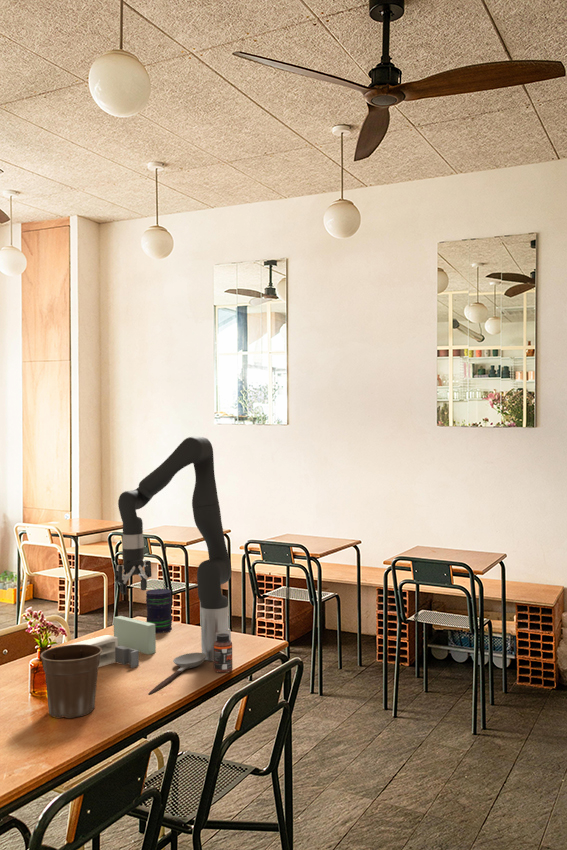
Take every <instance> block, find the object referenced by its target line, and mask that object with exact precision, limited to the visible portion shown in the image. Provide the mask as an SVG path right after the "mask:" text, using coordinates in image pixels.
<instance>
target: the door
mask: <svg viewBox="0 0 567 850" xmlns="http://www.w3.org/2000/svg"><path fill="white" fill-rule="evenodd" d="M113 636H114V637H117V638H118V646H124V647H128V648H131V649H135V650H138V651H139V653H141V654H145V655H147V656H148V655H153V654H155V653H157V647H156V646H157V645H156V643H157V641H156V638H157V637H156V633H155V624H153V623H148V622H146V621H145V620H139V619H137V618H131V617H128V616H127V617H126V616H123V615H119V616H114V617H113Z"/></svg>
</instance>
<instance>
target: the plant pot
mask: <svg viewBox="0 0 567 850" xmlns="http://www.w3.org/2000/svg"><path fill="white" fill-rule="evenodd" d="M101 653H102V649H101V648H100V647H98V646H94V645H86V644H77V645H69V644H66V646H65V645H60V646H57V647H56V646H54V647H52V648H48V649H47V650H44V651H42V652H41V653H40V659H41V660H42V668H43V669H42V670H43V671H44V676H45V687H46V697H47V707H48V709H47V711H48V715H50V716H51V717H53V718H57V719H62V718H63V717H64V718H66V719H72V718H81V717H83V716H86V715H88V714H91V713H92V712H93V710H94V709H95V707H96V706H95V705H96V704H95V703H96V695H97V694H96V693H97V682H98V681H97V679H98V669H99V667H98V666H99V661H100V654H101Z"/></svg>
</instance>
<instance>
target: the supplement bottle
mask: <svg viewBox="0 0 567 850" xmlns="http://www.w3.org/2000/svg"><path fill="white" fill-rule="evenodd" d="M216 639H217V641H215V642H214V661H213V670H214V672H216V673H221V674H223V673H225V674H226V673H229V672H231V671H232V670H233V642H232V640H231V641H230V640H229V634H226V633H221V634H217V638H216Z"/></svg>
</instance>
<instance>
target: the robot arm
mask: <svg viewBox="0 0 567 850" xmlns="http://www.w3.org/2000/svg"><path fill="white" fill-rule="evenodd" d="M213 448H214V447H213V445H212V443H211V441H210V440H209V439H208V438H207V437H204V436H189V437H186V438H185V439H183V440H182V441H181V443H180V444H179V445H178V446H177V447H176V448H175V449H174V451H172V453H171V454H170V455H169V456H168V457H167V458H166V459H165V460H164V461H163V462H162V463H161V464H160V465H158V467H156V468H155V469H154V470H153V471H151V472H150V473H149V474H147V475H146V476H145V477H144V478H142V480H140V482H139V483H138V487H137V488H136V489H133V490H127V491H126V490H125V491H123V492H122V493H121V494H120V495H119V497H118V501H117V504H118V512H119V515H120V519H121V522H122V539H121V542H122V543H121V544H122V545H121V546H122V548H121V551H122V561H123V564H122V565H119V564H116V565H115V568H114V569H115V570H114V573H115V574H114V581H115V583H119V588H120V589H119V592H120V593H121V595H127V594H128V593H127V590H128V589H127V582H128V580H129V579H130V578H131V577H133V576H135V575H137V576H139V577H140V590H141V591H146V590H147V587H148V579H149V578H151V577H152V562H151V561H150V560H148V559H147V560H146V559H145V550H144V549H145V543H144V542H145V541H144V530H143V529H144V528H143V525H144V523H143V518H141V517H139V516H138V515H137V510H140V509H142V508H144V507H146V505H147V504H148V503H149V502H150V501H151V500H152V498H153V497H155V496H156V495H157V494H158V493H159V492H161V491H162V490H163V489H164V488H166V486H168V485H169V484H170V482H171V481H172V479H173V478H174V477H175V475H176V474H178V472H180V471H181V470H183V469H185V467H187V466H190V465H191V464H193V468H194V474H195V482H194V483H195V484H194V488H193V493H192V499H191V500H192V501H191V507H192V513H193V519H194V523H195V526H196V527H197V530H198V531H199V533H200V534H201V536H202V538H203V540H204V541H205V545H206V547H207V553H208V559H206V560H204V561H202V562H200V563H199V565H198V567H197V572H196V582H197V583H196V585H197V596H198V600H199V602H200V630H201V631H200V637H201V638H200V639H201V642H200V643H201V653H205V654H206V655H207V657H206V658H205V660H204V661H208V662H214V642H215V641H217V639H216V638H217V634H221V633H226V634H229V640H230V641H231V642H232V637H231V636H232V635H231V634H232V632H231V629H230V628H229V599H228V597H227V596H226V595H223V594H222V588H221V585H224V584H226V583H227V582H229V581H230V579H231V577H232V571H233V570H232V565H231V560H230V556H229V552H228V549H227V545H226V540H225V533H224V528H223V522H222V514H221V508H220V502H219V496H218V490H217V484H216V483H217V482H216V477H215V463H214V461H215V460H214V449H213ZM144 559H145V560H144Z"/></svg>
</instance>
